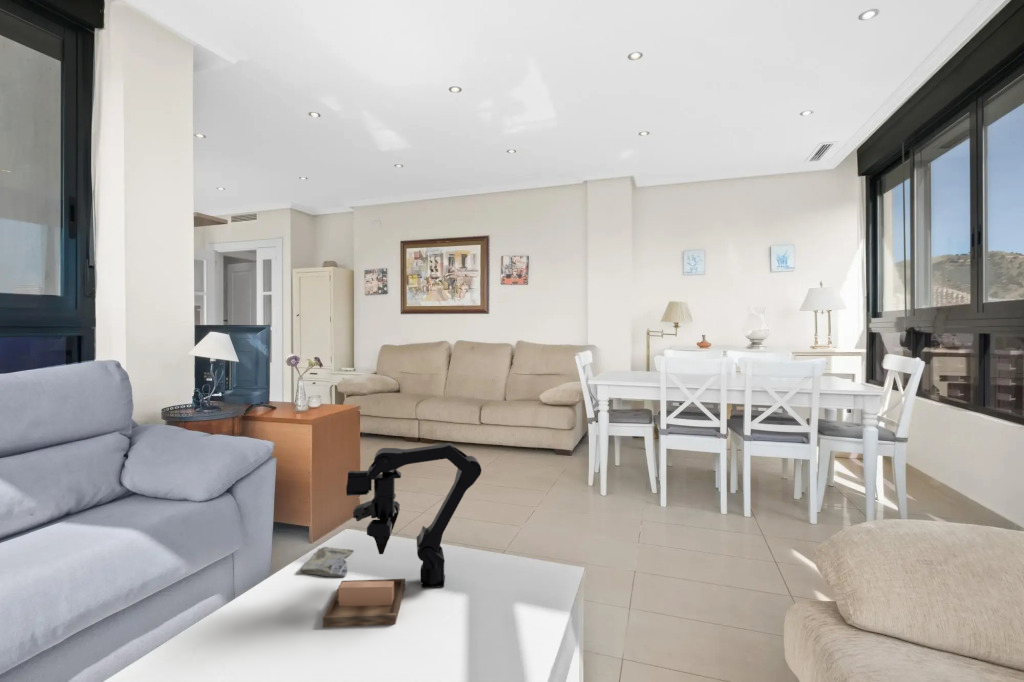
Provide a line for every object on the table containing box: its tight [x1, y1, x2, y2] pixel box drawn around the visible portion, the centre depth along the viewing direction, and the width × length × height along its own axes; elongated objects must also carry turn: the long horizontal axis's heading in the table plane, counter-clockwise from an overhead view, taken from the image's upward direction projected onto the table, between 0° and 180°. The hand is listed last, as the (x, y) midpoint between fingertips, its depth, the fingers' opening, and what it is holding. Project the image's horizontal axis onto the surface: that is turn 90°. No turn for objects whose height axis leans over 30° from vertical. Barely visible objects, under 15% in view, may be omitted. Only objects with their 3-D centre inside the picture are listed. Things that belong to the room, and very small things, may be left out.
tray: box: [322, 578, 406, 628], centre depth 132 cm, size 18×18×2 cm
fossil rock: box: [299, 546, 355, 578], centre depth 155 cm, size 18×15×2 cm
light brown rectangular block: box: [338, 581, 394, 606], centre depth 132 cm, size 14×3×5 cm, turn 92°
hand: (384, 546), depth 141 cm, fingers open, 9 cm apart
